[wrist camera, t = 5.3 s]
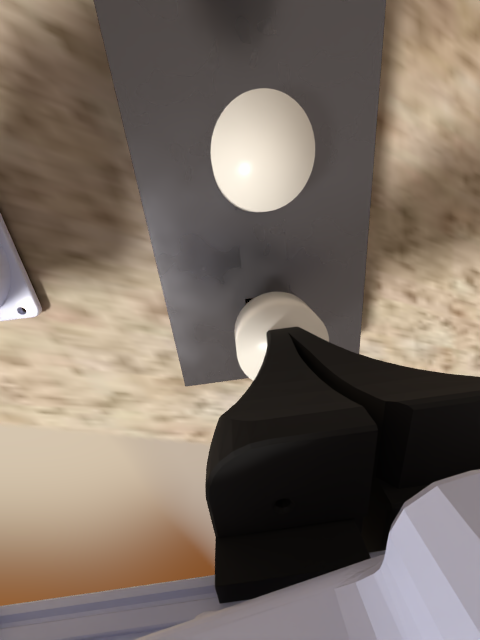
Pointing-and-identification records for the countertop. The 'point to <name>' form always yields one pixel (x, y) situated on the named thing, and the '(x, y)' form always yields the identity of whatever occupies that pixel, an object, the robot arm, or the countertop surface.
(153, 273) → the countertop surface
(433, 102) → the countertop surface
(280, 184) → the knob mid
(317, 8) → the mount plate
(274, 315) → the knob
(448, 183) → the countertop surface
